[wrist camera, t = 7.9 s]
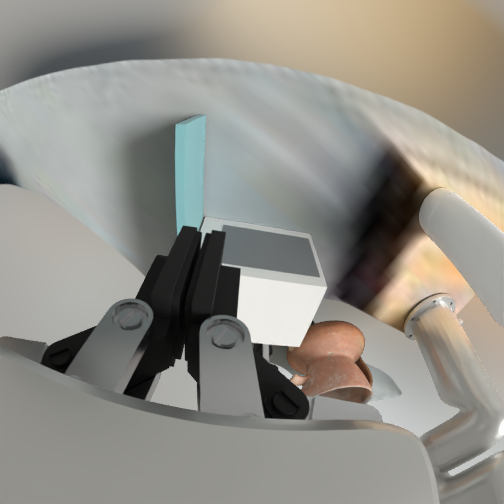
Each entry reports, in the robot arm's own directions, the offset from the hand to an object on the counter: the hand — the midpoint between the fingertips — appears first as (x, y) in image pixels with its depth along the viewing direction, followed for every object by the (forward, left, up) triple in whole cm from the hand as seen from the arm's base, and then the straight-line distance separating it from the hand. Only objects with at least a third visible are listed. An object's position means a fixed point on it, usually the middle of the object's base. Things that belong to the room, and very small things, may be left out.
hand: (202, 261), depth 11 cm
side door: (+4, +3, -22) cm, 23 cm away
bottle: (-30, +2, -23) cm, 38 cm away
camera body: (-4, +15, -23) cm, 28 cm away
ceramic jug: (-21, +31, -23) cm, 44 cm away
